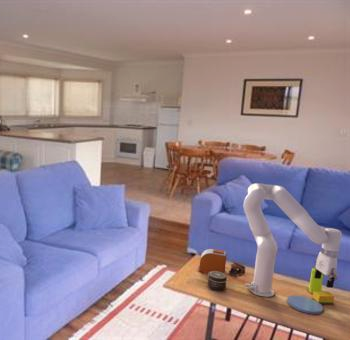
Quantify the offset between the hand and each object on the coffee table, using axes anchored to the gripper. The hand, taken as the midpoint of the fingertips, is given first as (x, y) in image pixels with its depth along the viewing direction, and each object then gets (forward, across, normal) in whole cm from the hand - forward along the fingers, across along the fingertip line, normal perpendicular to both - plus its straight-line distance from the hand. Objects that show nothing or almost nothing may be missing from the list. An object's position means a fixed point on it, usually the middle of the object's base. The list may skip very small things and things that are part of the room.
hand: (323, 282), depth 195 cm
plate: (+11, +4, -11) cm, 16 cm away
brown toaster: (+13, -35, -46) cm, 59 cm away
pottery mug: (+12, -30, -32) cm, 45 cm away
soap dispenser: (+11, -10, +4) cm, 15 cm away
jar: (+13, -14, -51) cm, 54 cm away
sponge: (+11, 0, +1) cm, 11 cm away
